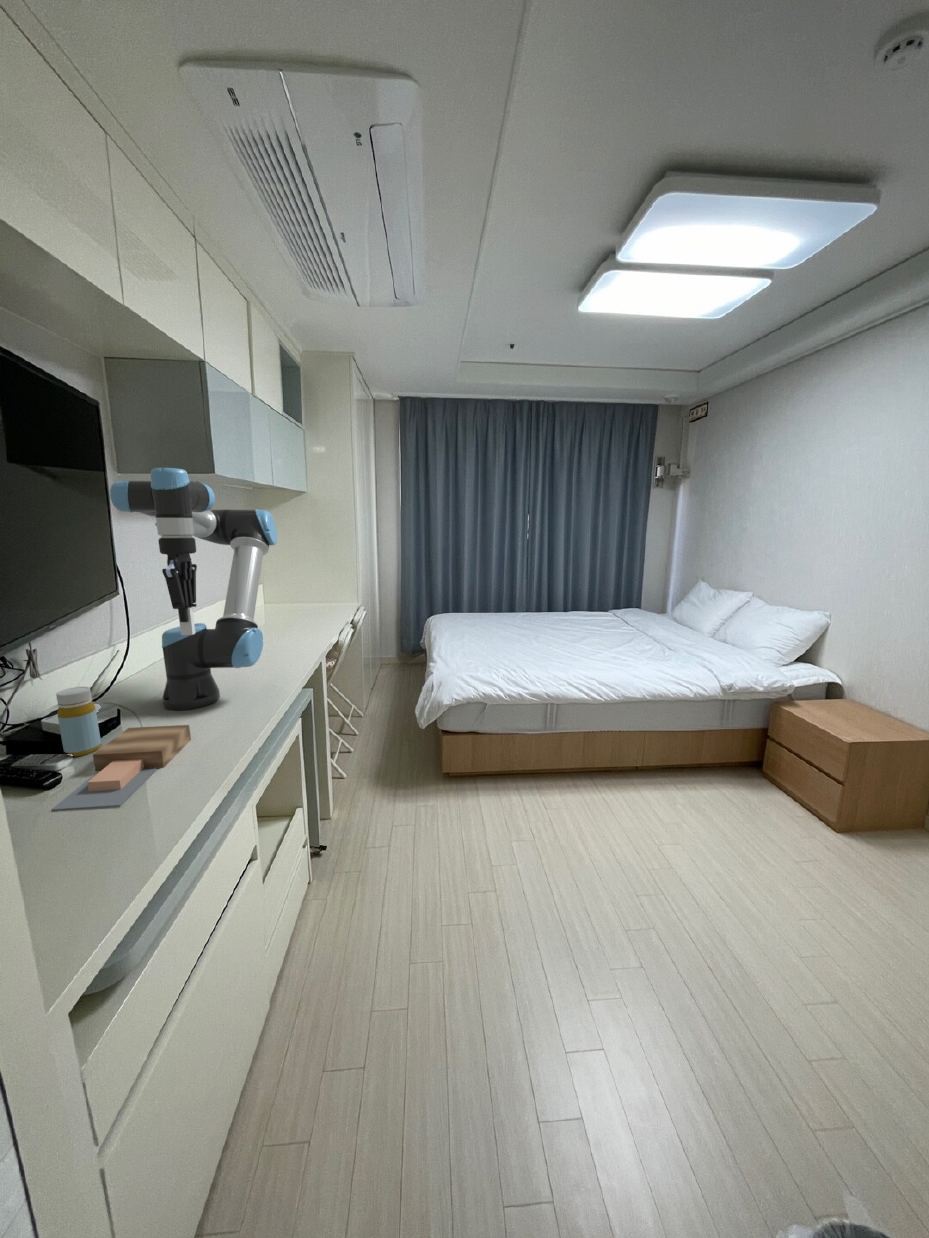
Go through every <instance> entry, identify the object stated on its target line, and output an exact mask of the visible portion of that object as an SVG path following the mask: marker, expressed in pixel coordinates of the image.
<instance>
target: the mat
mask: <svg viewBox="0 0 929 1238" xmlns="http://www.w3.org/2000/svg"><path fill="white" fill-rule="evenodd" d="M157 769H158V768H149V769H142V770H141V771H140V772H139V773H138V774H137V775H136V776H135V777H133V778H132V779H131V780H130V781H129V782H128V783H127V784H126V785H125V786H124V787H123V788H122V789H119V790H103V791H89V789H88V784H87V782H88V781H89V780H91V779H92V778H93V777H94V776H95V775H97V774H98V773H99V772H100V771H96V772H95V773H94V774H92V776H91V777H89V778H88V779H87V780H86V781H84V782H83V783H82V784H80V785H79V787H77V788H76V789H74V790H73V791H72V792H71V793H70V794H68V796H65V798H64V799H62V800H61V801H60V802H58V804H56V805H55V806H54V807H52V808H51V812H61V811H64V812H65V811H75V810H77V811H78V810H79V811H80V810H91V809H93V810H94V809H106V808H107V809H108V808H120V807H122V806H123V805H124V804H125V803H126V802H127V801H128V800H129V799H130V798H131V797H132V796H133V794H135V792H137V791H138V790H139V789H140V788H141V787H142V786H143V785H144V784H145V783H146V782H147V780H149V779H150V778H151V776H153V775H154V774H155V772H156V771H157Z"/></svg>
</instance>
